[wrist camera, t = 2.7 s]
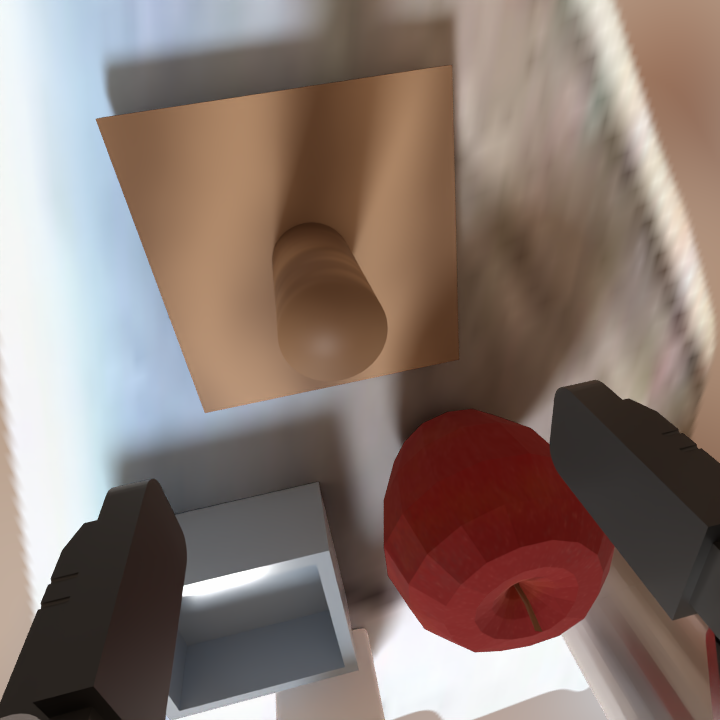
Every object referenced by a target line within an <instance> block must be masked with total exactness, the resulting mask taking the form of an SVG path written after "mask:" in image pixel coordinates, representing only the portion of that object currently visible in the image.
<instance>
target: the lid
mask: <svg viewBox="0 0 720 720" xmlns="http://www.w3.org/2000/svg"><path fill="white" fill-rule="evenodd" d="M96 121H97V124H98V127H99V129H100V132H101V135H102V137H103V140H104V143H105V145H106V148H107V151H108V154H109V156H110V159H111V162H112V164H113V167H114V170H115V172H116V175H117V178H118V180H119V183H120V186H121V188H122V191H123V194H124V197H125V199H126V202H127V205H128V207H129V210H130V213H131V215H132V218H133V221H134V223H135V226H136V229H137V232H138V234H139V237H140V240H141V242H142V245H143V248H144V250H145V253H146V256H147V258H148V261H149V264H150V266H151V269H152V272H153V275H154V277H155V280H156V283H157V285H158V288H159V291H160V293H161V296H162V299H163V301H164V304H165V307H166V309H167V312H168V315H169V318H170V320H171V323H172V326H173V328H174V331H175V334H176V336H177V339H178V342H179V344H180V347H181V350H182V352H183V355H184V358H185V361H186V363H187V366H188V369H189V371H190V374H191V377H192V379H193V382H194V385H195V387H196V390H197V393H198V396H199V398H200V401H201V404H202V406H203V409H204V412H205V413H208V412H212V411H217V410H222V409H227V408H231V407H236V406H241V405H246V404H250V403H255V402H260V401H265V400H269V399H274V398H279V397H284V396H288V395H293V394H298V393H303V392H307V391H312V390H317V389H322V388H326V387H331V386H336V385H341V384H345V383H350V382H355V381H360V380H364V379H369V378H374V377H379V376H383V375H388V374H393V373H398V372H402V371H407V370H412V369H417V368H421V367H426V366H431V365H436V364H440V363H445V362H450V361H455V360H459V338H458V296H457V254H456V211H455V169H454V127H453V85H452V65H446V66H439V67H432V68H426V69H419V70H412V71H406V72H399V73H393V74H386V75H379V76H373V77H366V78H360V79H353V80H346V81H340V82H333V83H327V84H320V85H313V86H307V87H300V88H294V89H287V90H280V91H274V92H267V93H261V94H254V95H247V96H241V97H234V98H228V99H221V100H214V101H208V102H201V103H195V104H188V105H181V106H175V107H168V108H162V109H155V110H148V111H142V112H135V113H129V114H122V115H115V116H109V117H102V118H97V119H96Z"/></svg>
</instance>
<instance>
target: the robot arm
mask: <svg viewBox="0 0 720 720" xmlns="http://www.w3.org/2000/svg"><path fill="white" fill-rule="evenodd" d="M550 454H551V458H552V461H553V464H554V466H555V468H556V470H557V472H558V474H559V475H560V476H561V478H562V479H563V480H564V481H565V483H566V484H567V485H568V487H569V488H570V489H571V491H572V492H573V493H574V494H575V496H576V497H577V498H578V500H579V501H580V502H581V503H582V505H583V506H584V507H585V509H586V510H587V511H588V513H589V514H590V515H591V516H592V518H593V519H594V520H595V522H596V523H597V524H598V525H599V527H600V528H601V529H602V531H603V532H604V533H605V535H606V536H607V537H608V538H609V540H610V541H611V542H612V544H613V545H614V546H615V548H614V553H613V557H612V562H611V566H610V570H609V573H608V575H607V577H606V580H605V582H604V584H603V586H602V588H601V591H600V593H599V595H598V597H597V598H596V600H595V602H594V603H593V605H592V607H591V608H590V610H589V612H588V613H587V615H586V617H585V618H584V619H583V620H582V621H580V622H579V623H577V624H576V625H574V626H573V627H571V628H570V629H568V630H567V631H565V632H564V633H562V634H561V635H562V637H563V639H564V641H565V642H566V644H567V646H568V648H569V650H570V652H571V654H572V655H573V657H574V659H575V661H576V663H577V665H578V666H579V668H580V670H581V672H582V674H583V675H584V677H585V679H586V681H587V683H588V685H589V686H590V688H591V690H592V692H593V694H594V695H595V697H596V699H597V701H598V703H599V705H600V706H601V708H602V710H603V712H604V714H605V715H606V717H607V719H608V720H720V463H719V462H717V461H716V460H715V459H714V458H712V457H711V456H710V455H709V454H708V453H707V452H705V451H704V450H703V449H698V448H697V445H696V443H694V442H693V441H692V440H691V439H690V438H688V437H687V436H686V435H685V434H683V433H681V434H680V433H679V431H678V429H677V428H676V427H675V426H674V425H673V424H671V423H670V422H669V421H668V420H666V419H665V418H664V417H663V416H662V415H660V414H659V413H658V412H657V411H655V410H652V409H650V408H648V407H646V406H644V405H642V404H639V403H637V402H635V401H633V400H631V399H624V400H622V399H621V398H620V397H619V396H617V395H616V394H615V393H614V392H613V391H612V390H610V389H609V388H608V387H607V386H606V385H605V384H603V383H602V382H600V381H598V380H592V381H588V382H583V383H579V384H575V385H570V386H566V387H561V388H559V389H558V390H557V391H556V393H555V398H554V407H553V416H552V426H551V435H550ZM186 566H187V548H186V541H185V537H184V534H183V531H182V529H181V527H180V524H179V522H178V520H177V518H176V516H175V514H174V512H173V510H172V508H171V506H170V504H169V502H168V500H167V498H166V496H165V494H164V492H163V490H162V488H161V486H160V484H159V483H158V481H157V480H155V479H149V480H144V481H140V482H135V483H131V484H126V485H122V486H118V487H113V488H111V489H110V490H109V491H108V493H107V495H106V497H105V500H104V503H103V506H102V508H101V511H100V514H99V517H98V520H96V521H92V522H87V523H84V524H83V525H82V526H81V528H80V529H79V530H78V531H77V533H76V534H75V535H74V536H73V538H72V539H71V540H70V541H69V543H68V544H67V545H66V546H65V547H64V549H63V550H62V552H61V555H60V557H59V559H58V562H57V564H56V567H55V569H54V572H53V574H52V577H51V584H49V585H48V586H47V589H46V591H45V594H44V596H43V599H42V601H41V609H39V610H38V611H37V613H36V616H35V618H34V621H33V623H32V626H31V628H30V631H29V633H28V636H27V638H26V640H25V643H24V645H23V648H22V650H21V653H20V655H19V657H18V660H17V662H16V665H15V668H14V670H13V672H12V675H11V677H10V680H9V682H8V684H7V687H6V689H5V692H4V694H3V697H2V700H1V702H0V720H165V717H166V710H167V703H168V695H169V688H170V681H171V674H172V667H173V659H174V652H175V645H176V638H177V631H178V624H179V616H180V609H181V602H182V595H183V588H184V580H185V573H186Z"/></svg>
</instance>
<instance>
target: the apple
mask: <svg viewBox="0 0 720 720" xmlns="http://www.w3.org/2000/svg"><path fill="white" fill-rule="evenodd" d="M614 548H615V546H614V545H613V544H612V542H611V541H610V540H609V538H608V537H607V536H606V535H605V533H604V532H603V531H602V529H601V528H600V527H599V525H598V524H597V523H596V522H595V520H594V519H593V518H592V516H591V515H590V514H589V513H588V511H587V510H586V509H585V507H584V506H583V505H582V503H581V502H580V501H579V500H578V498H577V497H576V496H575V494H574V493H573V492H572V491H571V489H570V488H569V487H568V485H567V484H566V483H565V481H564V480H563V479H562V478H561V476H560V475H559V474H558V472H557V470H556V468H555V466H554V464H553V461H552V458H551V454H550V444H549V443H547V442H546V441H545V440H544V439H543V438H542V437H541V436H539V435H538V434H537V433H536V432H535V431H534V430H533V429H531V428H529V427H526V426H523V425H521V424H518V423H515V422H512V421H509V420H506V419H504V418H501V417H498V416H495V415H492V414H488V413H485V412H482V411H478V410H475V409H467V410H459V411H451V412H446V413H444V414H442V415H439V416H437V417H435V418H433V419H431V420H429V421H427V422H424V423H422V424H421V425H420V426H419V427H418V428H417V430H416V431H415V432H414V433H413V434H412V435H411V436H410V437H409V438H408V439H407V440H406V441H405V442H404V444H403V446H402V448H401V449H400V451H399V453H398V455H397V457H396V459H395V461H394V464H393V468H392V471H391V475H390V479H389V483H388V486H387V490H386V494H385V498H384V551H385V558H386V565H387V572H388V576H389V578H390V579H391V581H392V582H393V584H394V585H395V587H396V588H397V590H398V591H399V593H400V594H401V596H402V597H403V599H404V600H405V602H406V603H407V605H408V606H409V608H410V609H411V611H412V612H413V613H414V615H415V616H416V618H417V619H418V620H419V622H420V623H421V625H422V626H423V627H424V629H426V630H428V631H430V632H432V633H434V634H436V635H438V636H440V637H443V638H445V639H447V640H449V641H451V642H453V643H455V644H458V645H460V646H462V647H464V648H467V649H469V650H471V651H473V652H490V651H503V650H509V649H515V648H520V647H526V646H531V645H534V644H536V643H539V642H542V641H545V640H548V639H551V638H554V637H557V636H559V635H561V634H562V633H564V632H565V631H567V630H568V629H570V628H571V627H573V626H574V625H576V624H577V623H579V622H580V621H582V620H583V619H584V618H585V617H586V615H587V613H588V612H589V610H590V608H591V607H592V605H593V603H594V602H595V600H596V598H597V597H598V595H599V593H600V591H601V588H602V586H603V584H604V582H605V580H606V577H607V575H608V573H609V570H610V566H611V562H612V557H613V553H614Z"/></svg>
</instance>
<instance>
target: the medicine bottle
mask: <svg viewBox="0 0 720 720" xmlns="http://www.w3.org/2000/svg"><path fill="white" fill-rule="evenodd" d="M352 633H353V639H354V645H355V650H356V656H357V662H358V668H359V670H358V671H354V672H351V673H347V674H343V675H339V676H336V677H332V678H328V679H324V680H321V681H317V682H313V683H309V684H306V685H302V686H298V687H294V688H291V689H287V690H283V691H279V692H276V720H385V718H384V713H383V708H382V703H381V698H380V693H379V688H378V683H377V677H376V672H375V667H374V662H373V657H372V652H371V647H370V642H369V637H368V633H367V630H366V629H364V628H361V629H355V630H352Z"/></svg>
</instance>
